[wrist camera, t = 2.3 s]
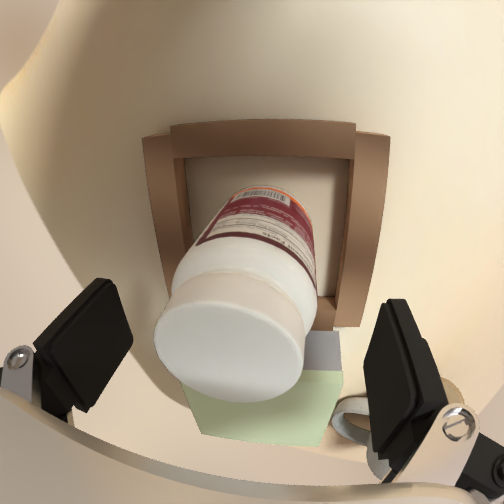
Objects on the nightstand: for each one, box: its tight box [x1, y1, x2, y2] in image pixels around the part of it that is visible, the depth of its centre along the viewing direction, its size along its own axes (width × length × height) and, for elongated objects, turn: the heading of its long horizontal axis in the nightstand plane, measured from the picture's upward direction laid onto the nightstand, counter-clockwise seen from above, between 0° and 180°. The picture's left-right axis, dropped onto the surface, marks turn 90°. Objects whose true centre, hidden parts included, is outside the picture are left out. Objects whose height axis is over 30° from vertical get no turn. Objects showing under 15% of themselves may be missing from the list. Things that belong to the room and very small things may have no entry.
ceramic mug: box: [331, 377, 464, 480], centre depth 16 cm, size 11×8×8 cm
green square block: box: [180, 330, 344, 447], centre depth 18 cm, size 9×9×4 cm
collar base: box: [142, 119, 390, 331], centre depth 14 cm, size 11×11×1 cm
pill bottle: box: [154, 185, 318, 402], centre depth 11 cm, size 5×5×8 cm
